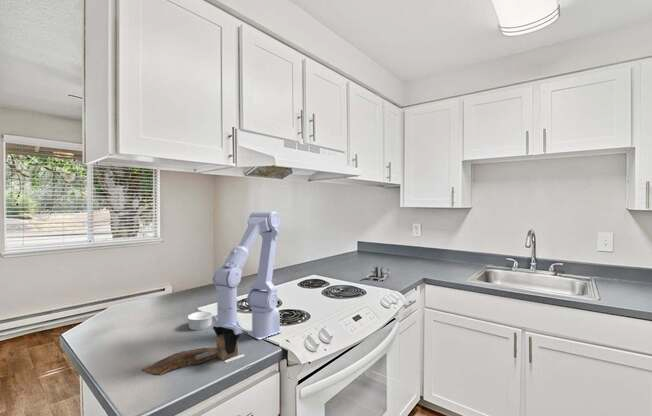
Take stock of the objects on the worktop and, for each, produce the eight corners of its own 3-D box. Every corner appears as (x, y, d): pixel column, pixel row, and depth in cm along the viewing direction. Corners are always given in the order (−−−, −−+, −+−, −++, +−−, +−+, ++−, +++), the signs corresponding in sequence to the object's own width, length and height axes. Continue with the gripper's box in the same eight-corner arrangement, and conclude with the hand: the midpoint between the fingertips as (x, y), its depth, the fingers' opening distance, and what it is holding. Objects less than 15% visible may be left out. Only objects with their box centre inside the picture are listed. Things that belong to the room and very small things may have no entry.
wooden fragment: (143, 380, 83) (143, 376, 83) (140, 364, 92) (140, 360, 92) (239, 354, 98) (239, 351, 98) (227, 342, 107) (227, 339, 107)
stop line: (242, 354, 97) (242, 354, 97) (244, 356, 96) (244, 355, 96) (224, 361, 92) (224, 360, 92) (226, 363, 92) (226, 362, 92)
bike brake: (372, 273, 210) (360, 284, 193) (372, 263, 209) (359, 273, 192) (392, 276, 203) (381, 287, 186) (391, 266, 202) (380, 276, 185)
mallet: (231, 350, 100) (231, 331, 100) (237, 354, 97) (237, 335, 97) (193, 363, 91) (193, 343, 91) (199, 368, 88) (198, 347, 88)
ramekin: (216, 326, 120) (216, 315, 120) (192, 333, 114) (192, 321, 113) (207, 320, 126) (207, 309, 126) (184, 326, 120) (184, 315, 120)
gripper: (204, 304, 99) (204, 347, 99) (225, 315, 88) (226, 363, 89) (225, 299, 104) (225, 340, 104) (248, 309, 93) (248, 355, 93)
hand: (227, 350), depth 97 cm, fingers closed on mallet, 4 cm apart
